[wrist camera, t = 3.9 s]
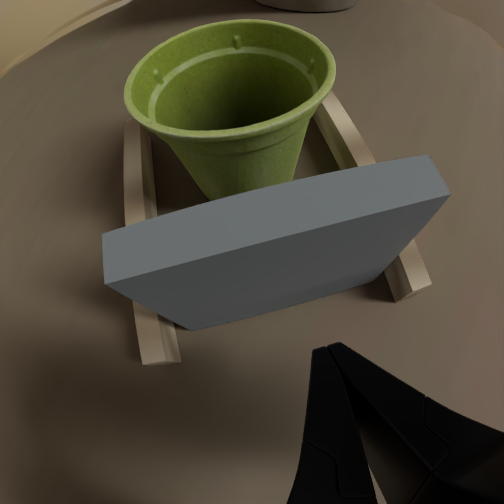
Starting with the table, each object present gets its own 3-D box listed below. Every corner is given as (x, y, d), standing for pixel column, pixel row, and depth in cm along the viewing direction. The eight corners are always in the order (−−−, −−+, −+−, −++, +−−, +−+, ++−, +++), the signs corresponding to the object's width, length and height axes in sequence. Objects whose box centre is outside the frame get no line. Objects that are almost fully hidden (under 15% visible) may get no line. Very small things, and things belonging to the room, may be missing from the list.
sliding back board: (372, 281, 16) (451, 194, 8) (192, 331, 16) (104, 284, 7) (349, 222, 17) (395, 106, 9) (179, 266, 17) (102, 173, 9)
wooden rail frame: (412, 296, 16) (431, 284, 13) (161, 366, 15) (142, 364, 13) (318, 99, 22) (321, 75, 19) (136, 144, 21) (124, 122, 19)
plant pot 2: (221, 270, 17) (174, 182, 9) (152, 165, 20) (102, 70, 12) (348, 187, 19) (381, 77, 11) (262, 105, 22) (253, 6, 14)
